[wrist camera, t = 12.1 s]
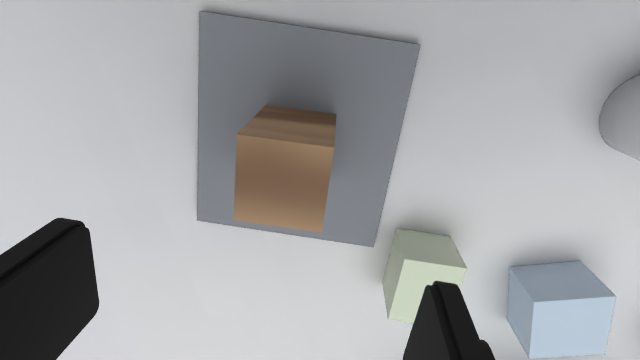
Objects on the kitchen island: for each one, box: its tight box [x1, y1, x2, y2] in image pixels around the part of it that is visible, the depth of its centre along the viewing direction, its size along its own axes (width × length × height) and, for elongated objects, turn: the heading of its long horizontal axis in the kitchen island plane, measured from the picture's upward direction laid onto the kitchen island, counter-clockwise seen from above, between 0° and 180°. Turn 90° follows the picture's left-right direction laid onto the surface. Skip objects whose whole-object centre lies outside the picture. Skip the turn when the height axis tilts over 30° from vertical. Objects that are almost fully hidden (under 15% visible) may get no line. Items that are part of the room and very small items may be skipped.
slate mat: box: [197, 11, 421, 247], centre depth 24 cm, size 14×13×1 cm
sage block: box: [383, 228, 467, 324], centre depth 26 cm, size 5×4×4 cm
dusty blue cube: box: [507, 261, 616, 359], centre depth 27 cm, size 5×5×4 cm
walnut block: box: [233, 105, 337, 232], centre depth 21 cm, size 4×4×7 cm
